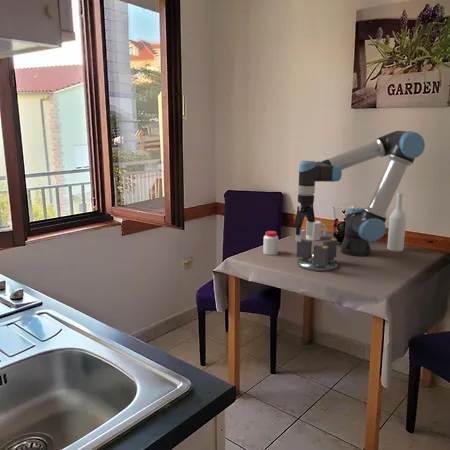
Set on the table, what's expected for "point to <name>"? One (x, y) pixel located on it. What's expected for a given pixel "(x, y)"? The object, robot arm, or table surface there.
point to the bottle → (397, 227)
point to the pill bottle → (270, 243)
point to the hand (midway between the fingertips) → (303, 238)
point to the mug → (316, 231)
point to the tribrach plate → (311, 266)
